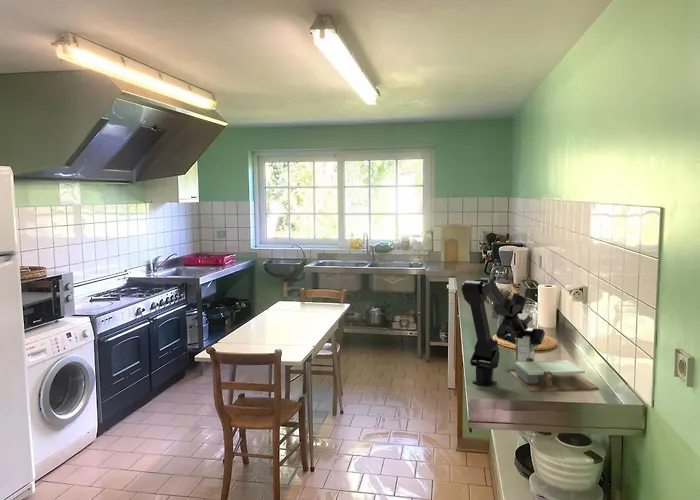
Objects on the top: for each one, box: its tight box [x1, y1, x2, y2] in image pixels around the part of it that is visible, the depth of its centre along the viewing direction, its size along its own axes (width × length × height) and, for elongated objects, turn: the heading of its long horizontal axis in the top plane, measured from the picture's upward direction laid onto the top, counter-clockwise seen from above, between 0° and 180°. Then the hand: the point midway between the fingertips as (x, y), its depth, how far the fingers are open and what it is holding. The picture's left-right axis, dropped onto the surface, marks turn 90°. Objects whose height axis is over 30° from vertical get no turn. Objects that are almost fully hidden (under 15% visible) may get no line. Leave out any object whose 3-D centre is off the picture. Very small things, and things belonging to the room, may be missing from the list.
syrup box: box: [515, 327, 535, 363], centre depth 221 cm, size 6×6×14 cm
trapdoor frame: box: [509, 358, 600, 393], centre depth 198 cm, size 24×22×6 cm
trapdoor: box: [514, 359, 586, 384], centre depth 198 cm, size 20×14×4 cm
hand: (526, 345), depth 222 cm, fingers open, 9 cm apart
